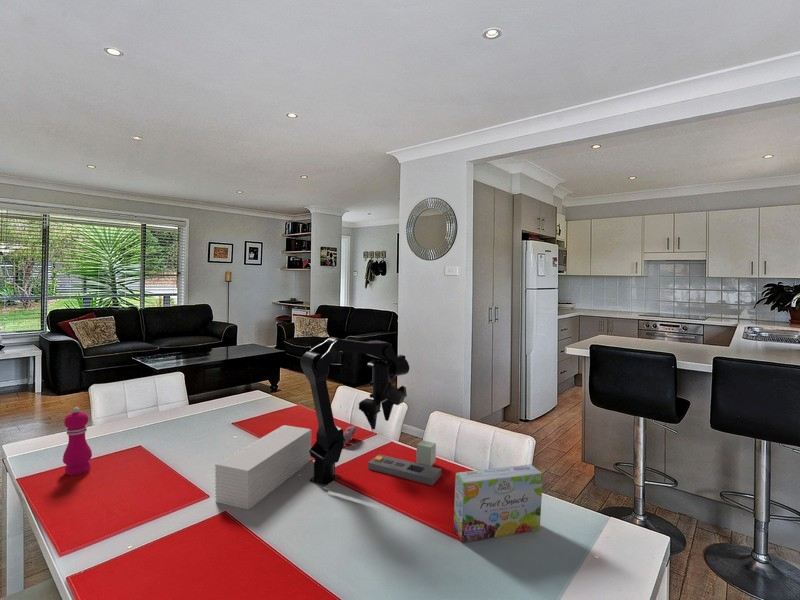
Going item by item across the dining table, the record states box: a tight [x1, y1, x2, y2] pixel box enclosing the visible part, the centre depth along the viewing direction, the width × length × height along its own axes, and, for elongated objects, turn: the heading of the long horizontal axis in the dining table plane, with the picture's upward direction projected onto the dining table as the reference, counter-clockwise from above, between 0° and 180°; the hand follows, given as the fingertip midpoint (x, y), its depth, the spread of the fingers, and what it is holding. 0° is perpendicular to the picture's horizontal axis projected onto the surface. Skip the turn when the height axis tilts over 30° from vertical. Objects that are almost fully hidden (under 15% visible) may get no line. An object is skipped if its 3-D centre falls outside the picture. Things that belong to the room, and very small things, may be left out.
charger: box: [415, 440, 437, 467], centre depth 138 cm, size 4×5×8 cm
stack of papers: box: [214, 424, 312, 510], centre depth 129 cm, size 32×11×11 cm, turn 161°
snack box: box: [453, 464, 544, 544], centre depth 105 cm, size 21×6×15 cm, turn 106°
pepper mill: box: [62, 406, 93, 476], centre depth 132 cm, size 7×7×20 cm
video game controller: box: [343, 425, 358, 445], centre depth 158 cm, size 10×5×7 cm, turn 170°
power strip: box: [367, 454, 442, 486], centre depth 133 cm, size 7×22×4 cm, turn 63°
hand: (380, 424), depth 143 cm, fingers open, 9 cm apart
